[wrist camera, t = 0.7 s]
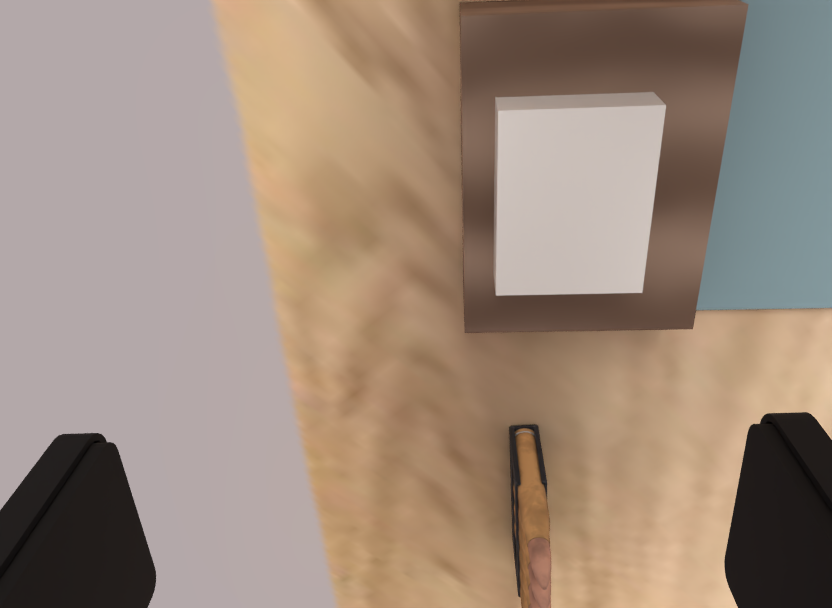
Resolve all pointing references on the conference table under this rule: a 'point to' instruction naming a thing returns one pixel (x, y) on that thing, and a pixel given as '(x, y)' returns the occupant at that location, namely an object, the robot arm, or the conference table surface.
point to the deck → (601, 74)
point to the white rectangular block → (574, 192)
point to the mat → (776, 166)
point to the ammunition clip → (530, 517)
